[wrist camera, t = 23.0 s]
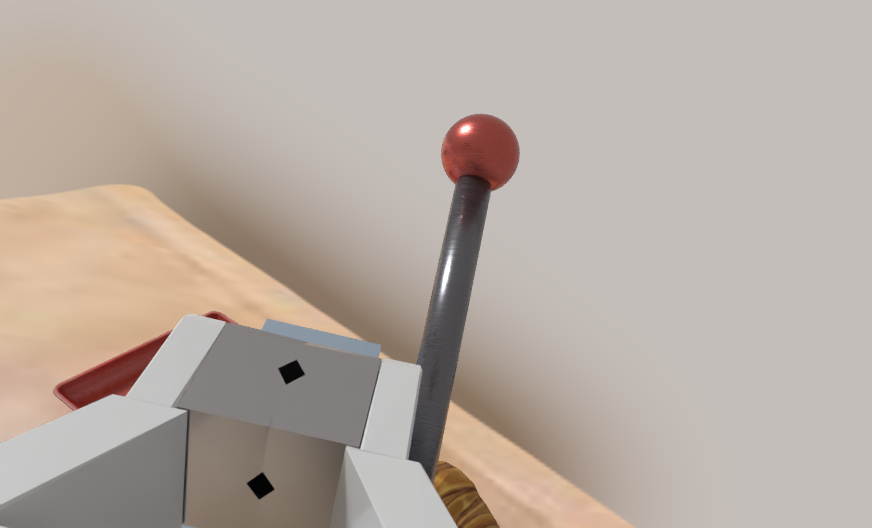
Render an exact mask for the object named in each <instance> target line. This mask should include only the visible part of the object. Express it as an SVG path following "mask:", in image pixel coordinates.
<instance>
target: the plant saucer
mask: <svg viewBox="0 0 872 528" xmlns="http://www.w3.org/2000/svg"><path fill="white" fill-rule="evenodd" d="M202 316H204V317H208V318H212V319H216V320H220V321H225V322H227V323H234V324H238V323H236V322H235V321H233V320H232V319H230V318H229V317H227V316H226V315H224V314H222V313H221V312H217V311H211V312H208V313H206V314H204V315H202ZM238 325H239V324H238ZM173 330H174V329H173ZM173 330H171V331H168V332H166V333H164V334H162V335H160V336H158V337H156V338H154V339H152V340H150V341H147V342H145V343H143V344H141V345H139V346H137V347H135V348H132V349H130V350H128V351H126V352H125V353H122V354H120V355H118V356H116V357H114V358H112V359H110V360H108V361H106V362H104V363H101V364H99V365H97V366H95V367H93V368H91V369H89V370H87V371H85V372H82V373H81V374H79V375H76V376H74V377H72V378H70V379H68V380H66V381H63V382H61V383H59V384H58V385H57V386H55V388H54V390H53V393H54V394H55V396H57V397H58V398H59V399H60V400H61V401H62V402H64V403H65V404H66V405H67V406H68V407H70V408H71V409H72V410H73V411H75V410H78V409H80V408H82V407H85V406H87V405H89V404H91V403H94V402H96V401H98V400H101V399H103V398H105V397H107V396H110V395H112V394H114V395H119V396H124V397H125V396H126V395H127V394H128V392H129V391H130V390H131V388H132V387H133V385H134V384H135V383H136V381H137V380H138V378H139V377H140V376H141V374H142V373H143V371H144V370H145V369H146V367H147V366H148V364H149V363H150V362H151V360H152V359H153V357H154V356H155V355H156V353H157V352H158V350H159V349H160V348H161V346H162V345H163V343H164V342H165V341H166V339H167V338H168V336H169V335H170V334H171V332H172V331H173Z"/></svg>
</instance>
